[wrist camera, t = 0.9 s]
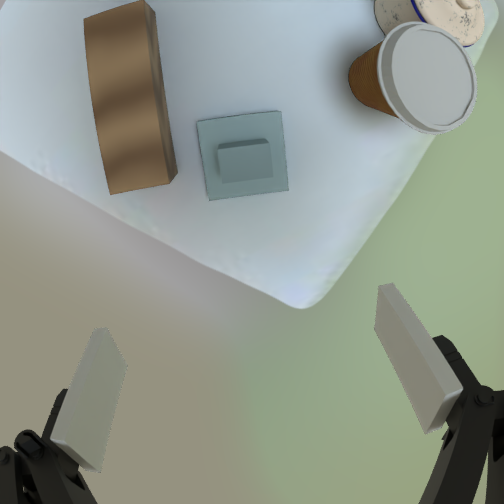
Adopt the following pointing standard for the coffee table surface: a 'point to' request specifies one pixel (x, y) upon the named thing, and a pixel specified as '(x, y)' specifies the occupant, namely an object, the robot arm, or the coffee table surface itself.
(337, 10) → the coffee table surface
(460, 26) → the teacup with lid
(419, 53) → the disposable coffee cup
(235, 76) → the coffee table surface
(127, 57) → the batten
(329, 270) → the coffee table surface
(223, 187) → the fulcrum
